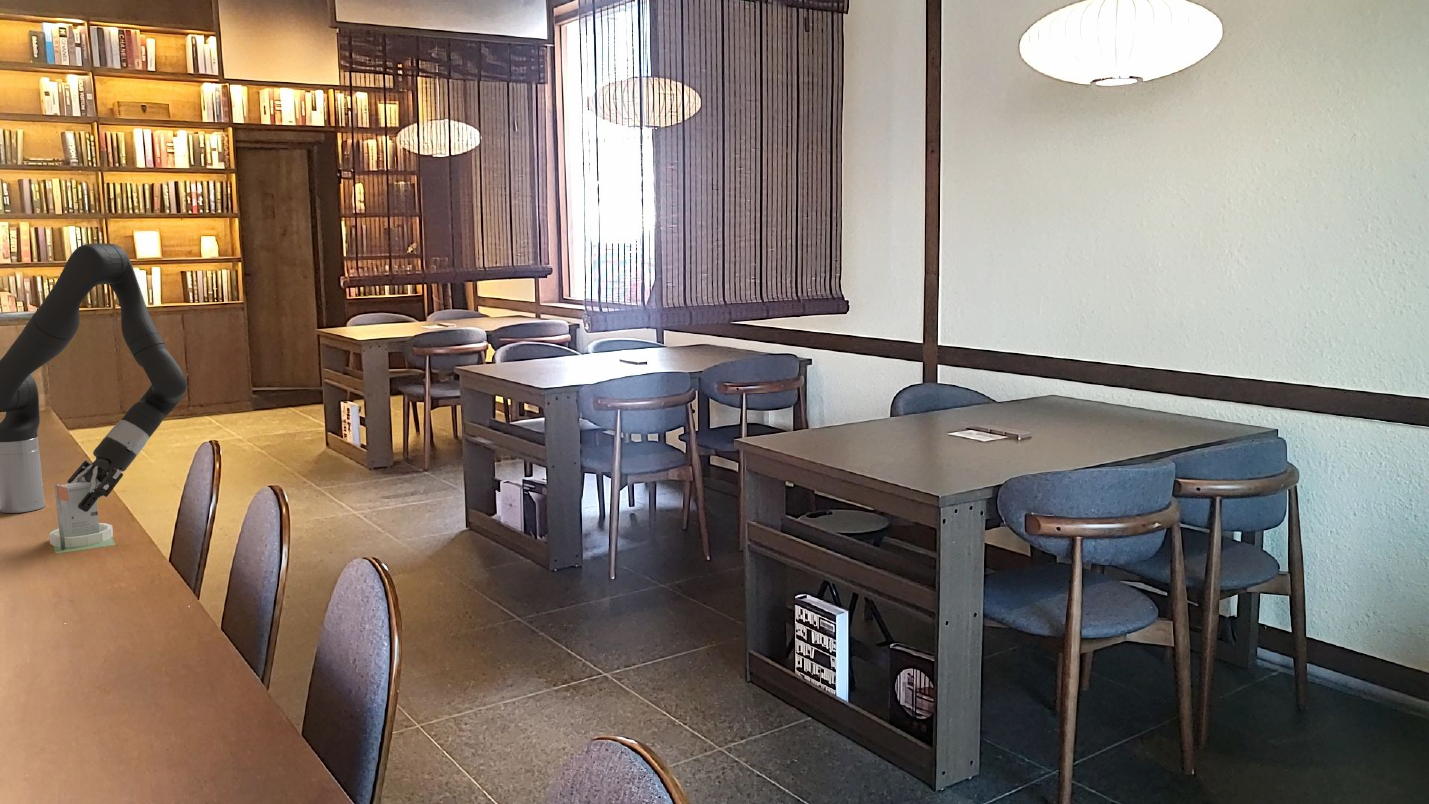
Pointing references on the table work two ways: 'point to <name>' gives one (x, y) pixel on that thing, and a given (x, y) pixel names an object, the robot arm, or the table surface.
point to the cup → (83, 537)
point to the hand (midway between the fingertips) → (72, 506)
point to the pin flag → (61, 495)
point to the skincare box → (78, 512)
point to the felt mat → (96, 545)
